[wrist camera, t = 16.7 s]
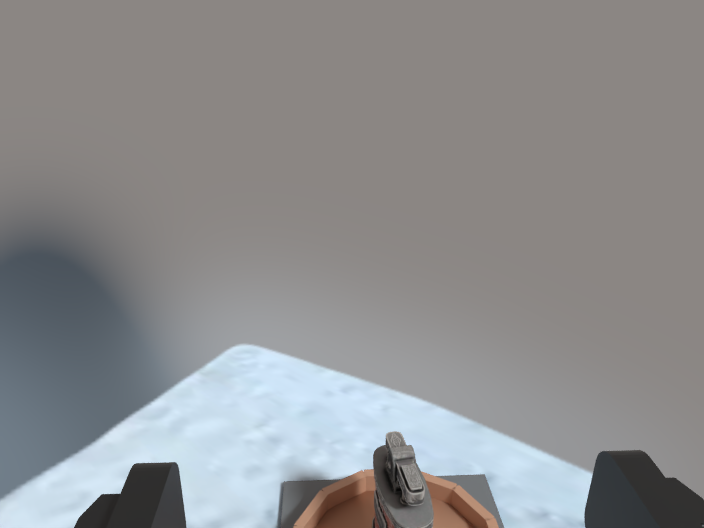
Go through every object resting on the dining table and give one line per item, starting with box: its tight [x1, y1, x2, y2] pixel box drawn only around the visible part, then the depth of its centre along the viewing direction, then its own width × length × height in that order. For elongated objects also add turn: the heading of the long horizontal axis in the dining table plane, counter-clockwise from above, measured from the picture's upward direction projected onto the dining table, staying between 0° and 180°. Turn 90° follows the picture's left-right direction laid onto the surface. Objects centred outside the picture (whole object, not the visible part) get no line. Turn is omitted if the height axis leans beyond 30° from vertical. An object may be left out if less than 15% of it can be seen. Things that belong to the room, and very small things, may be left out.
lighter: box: [372, 432, 434, 528], centre depth 41 cm, size 8×3×10 cm, turn 11°
